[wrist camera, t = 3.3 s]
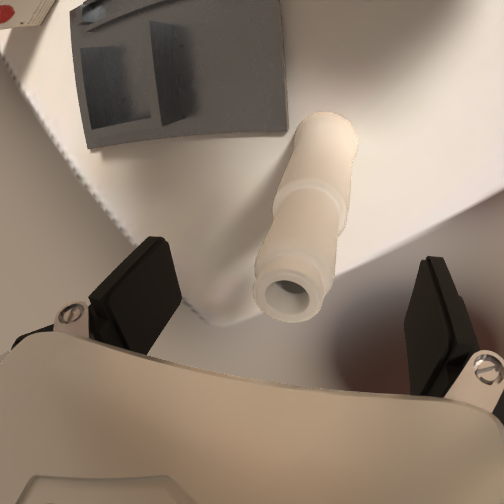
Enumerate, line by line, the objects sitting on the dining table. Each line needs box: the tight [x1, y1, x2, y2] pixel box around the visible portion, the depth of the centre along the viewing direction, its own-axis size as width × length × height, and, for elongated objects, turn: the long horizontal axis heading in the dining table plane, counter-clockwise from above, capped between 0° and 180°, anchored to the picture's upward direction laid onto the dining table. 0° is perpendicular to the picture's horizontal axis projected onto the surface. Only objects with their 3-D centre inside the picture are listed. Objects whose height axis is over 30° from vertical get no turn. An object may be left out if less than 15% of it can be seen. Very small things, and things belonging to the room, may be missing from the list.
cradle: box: [70, 0, 289, 149], centre depth 23 cm, size 25×20×5 cm
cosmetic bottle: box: [253, 112, 358, 323], centre depth 18 cm, size 6×6×22 cm
